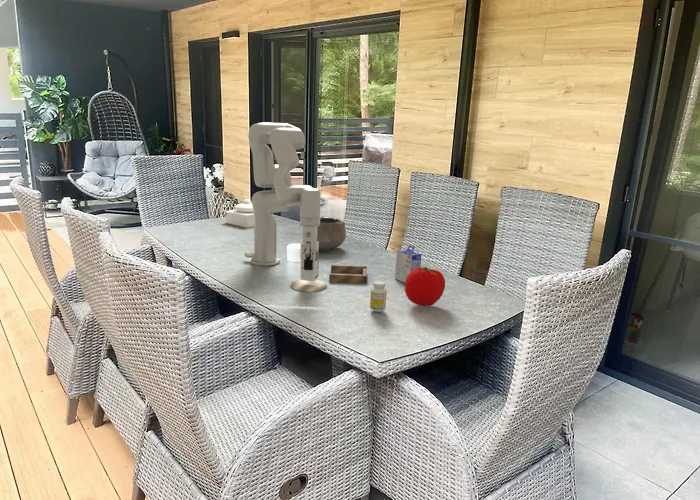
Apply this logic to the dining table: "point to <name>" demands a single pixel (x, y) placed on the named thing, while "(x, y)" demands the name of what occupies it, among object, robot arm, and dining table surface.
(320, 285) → the pad
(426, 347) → the dining table surface
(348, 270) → the shelf rack
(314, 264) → the syrup box
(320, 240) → the clay pot
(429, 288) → the tomato
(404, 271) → the ink cartridge box
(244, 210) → the butter dish
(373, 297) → the supplement bottle
